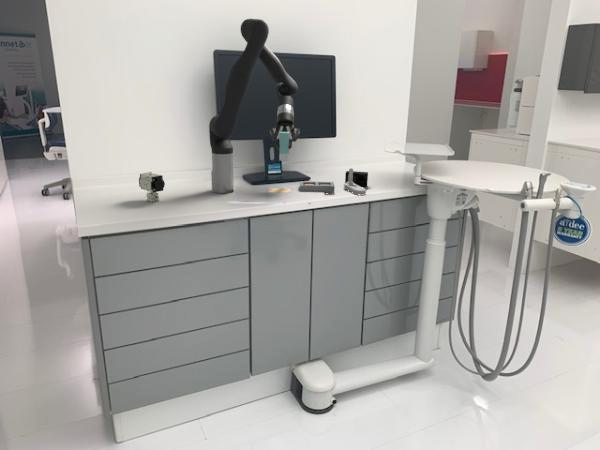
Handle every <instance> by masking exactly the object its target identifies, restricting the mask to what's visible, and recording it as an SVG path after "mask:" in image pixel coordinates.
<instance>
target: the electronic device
mask: <svg viewBox="0 0 600 450" xmlns="http://www.w3.org/2000/svg"><path fill="white" fill-rule="evenodd" d="M348 171H349V176H348V182H347V183H345V182H344V184H343V185H344V186H343V189H344V188H345V190H346V189H347V190H346V191H348V190H349V192H350V191H351V192H353V193H355V194H365V193H367V190H366V189H367V188H362V187H360V186H358V185H356V184H354V182H352V181H353V180H352V179H353V171H354V168H349V169H348ZM351 192H350V193H351ZM353 193H352V194H353ZM355 194H354V195H355ZM365 195H366V194H365Z"/></svg>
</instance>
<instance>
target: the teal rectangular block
mask: <svg viewBox="0 0 600 450" xmlns="http://www.w3.org/2000/svg"><path fill="white" fill-rule="evenodd" d="M278 150H279V151H278V152H279V156H278V157H279V161H281V162H282V161H283V162H284V161H288V162H289V160H290V149H289V132H280V148H279V149H278Z"/></svg>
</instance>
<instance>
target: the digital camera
mask: <svg viewBox="0 0 600 450" xmlns="http://www.w3.org/2000/svg"><path fill="white" fill-rule="evenodd" d="M348 176H349V170H347V171H345V181H344V184H345V183H347V182H348ZM368 178H369V171H354V170H353V179H352V180H353V181H352V182H354V184H356V185H358V186H360V187H368V180H369V179H368Z"/></svg>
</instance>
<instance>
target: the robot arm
mask: <svg viewBox="0 0 600 450" xmlns="http://www.w3.org/2000/svg"><path fill="white" fill-rule="evenodd" d="M269 30H270V28H269V24H268V22H267V21H265V20H264V19H259V18H247V19H244V20H242V23H241V25H240V34H241V37H242V38H243V40H244V41H245V42H246V43H247V44H246V45H245V48H244V50H243V52H242V53H241V54H240V55H239V57H237V59H236V60H235V62H234V63H233V65H232V66H231V68H230V71H229V73H228V76H227V79H226V83H225V90H224V100H223V104H222V107H221V110H220V112H219V114H216V115H214V116H213V117H212V118H211V119H210V121H209V125H208V127H209V129H208V130H209V131H208V132H209V145H210V149H211V165H212V167H211V168H212V169H211V173H210V174H211V175H210V176H211V192H212V193H216V194H230V193H233V192H234V191H235V190H234V189H235V185H234V183H235V181H234V148H233V144H232V142H231V136H232V135H233V134H234V132H235V128H236V125H237V119H238V115H239V112H240V109H241V105H242V104H243V102H244V99H245V96H246V92H247V91H248V88H249V85H250V84H251V83H250V82H251V80H252V76H253V73H254V71H255V68H256V66H257V65H256V64H257V62H258V60H260V62H261V63H262V64H263V66H264V68H265V69H266V71H267V73H268V75H269V76H270V78H271V79H272V81H273V83H277V84H276V85H275V87H274V91H275V95H276V97H277V102H278V104H277V112H276V113H277V114H276V115H277V116H276V125H275V126H274V127H269V134H270V136H271V139H272V141H273V142H276V148H277V149H278V150H279V148H280V132H289V150H291V148H293V142H297V140H298V137H299V136H300V133H301V129H300V127H297V128H296V127H295V126H294V123H295V122H294V120H295V115H294V114H295V113H294V104H295V103H294V99H293V98H292V97H293V96H295V95H297V94H298V92H299V86H298V84H297V82H296V81H295V80H294V78H292V77H291V76H290V74H289V73H288V72H287V71H286V70H285V68H284V66H283V64H282V63H281V61H280V59H279V58H278V57H277V56H276V55H275V54H274V52H273V51H272V50H271V49H270V48H269V47H268V46H267V44H266V42H267V40H268V38H269V32H270V31H269ZM275 133H277V136H276V134H275ZM293 133H294V135H293V136H292V134H293Z"/></svg>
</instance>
